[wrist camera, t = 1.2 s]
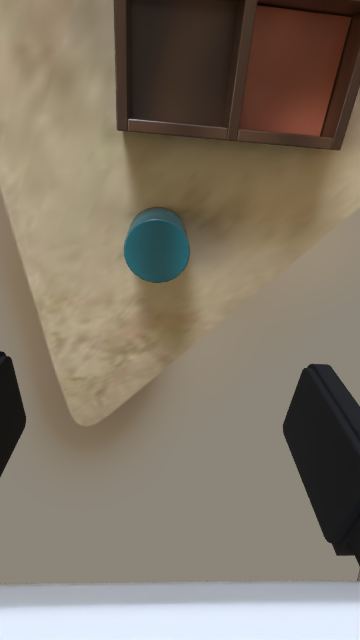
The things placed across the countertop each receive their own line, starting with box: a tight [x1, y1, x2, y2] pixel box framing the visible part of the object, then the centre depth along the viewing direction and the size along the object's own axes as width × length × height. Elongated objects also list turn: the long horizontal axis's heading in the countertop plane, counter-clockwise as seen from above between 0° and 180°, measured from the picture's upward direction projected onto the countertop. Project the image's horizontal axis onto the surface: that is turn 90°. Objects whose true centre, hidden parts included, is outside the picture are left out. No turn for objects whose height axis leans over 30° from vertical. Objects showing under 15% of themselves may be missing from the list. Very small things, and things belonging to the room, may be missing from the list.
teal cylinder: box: [124, 207, 190, 283], centre depth 21 cm, size 4×4×4 cm
